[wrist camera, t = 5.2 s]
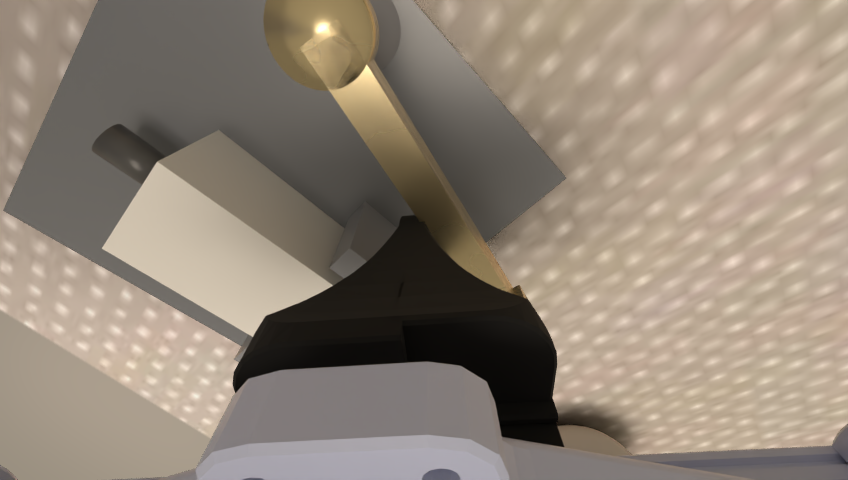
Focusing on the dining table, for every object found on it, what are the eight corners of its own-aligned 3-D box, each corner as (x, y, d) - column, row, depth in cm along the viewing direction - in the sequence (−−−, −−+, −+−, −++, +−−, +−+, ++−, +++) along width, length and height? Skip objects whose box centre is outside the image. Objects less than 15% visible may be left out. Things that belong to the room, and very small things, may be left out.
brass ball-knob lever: (489, 333, 15) (495, 361, 13) (264, 13, 9) (240, 11, 8) (546, 309, 14) (557, 336, 13) (340, -50, 9) (326, -62, 7)
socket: (15, 205, 17) (-109, 259, 13) (216, -227, 11) (86, -384, 6) (311, 376, 23) (287, 450, 19) (561, 173, 17) (606, 221, 12)
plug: (115, 165, 16) (28, 205, 12) (161, 85, 14) (77, 105, 11) (328, 309, 20) (308, 369, 16) (384, 259, 18) (374, 315, 15)
